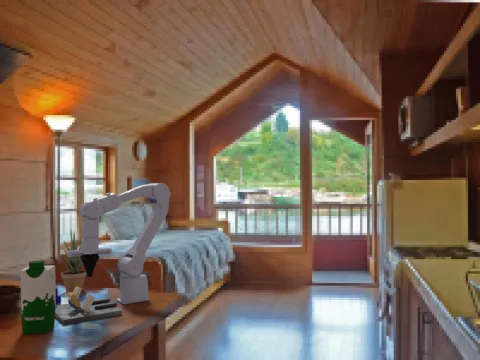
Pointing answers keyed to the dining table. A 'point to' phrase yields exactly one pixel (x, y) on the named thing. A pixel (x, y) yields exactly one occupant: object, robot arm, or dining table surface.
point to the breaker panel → (84, 312)
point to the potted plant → (73, 269)
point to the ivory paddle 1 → (77, 291)
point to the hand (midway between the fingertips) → (89, 276)
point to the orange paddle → (74, 299)
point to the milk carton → (38, 298)
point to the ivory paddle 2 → (88, 302)
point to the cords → (103, 305)
